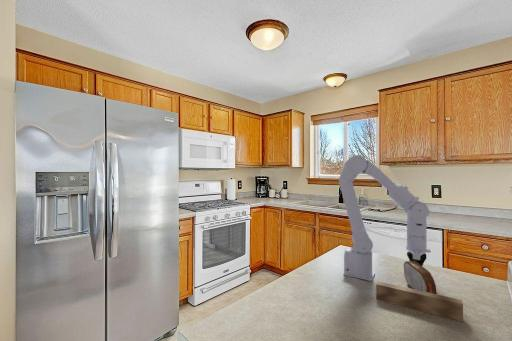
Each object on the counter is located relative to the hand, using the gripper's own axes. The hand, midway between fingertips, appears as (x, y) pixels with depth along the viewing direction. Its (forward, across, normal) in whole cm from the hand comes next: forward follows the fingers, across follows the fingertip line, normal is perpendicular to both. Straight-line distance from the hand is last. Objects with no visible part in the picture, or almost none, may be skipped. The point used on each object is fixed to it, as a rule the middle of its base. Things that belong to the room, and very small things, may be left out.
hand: (416, 274), depth 85 cm
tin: (+3, -9, 0) cm, 9 cm away
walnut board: (+2, -20, 0) cm, 20 cm away
